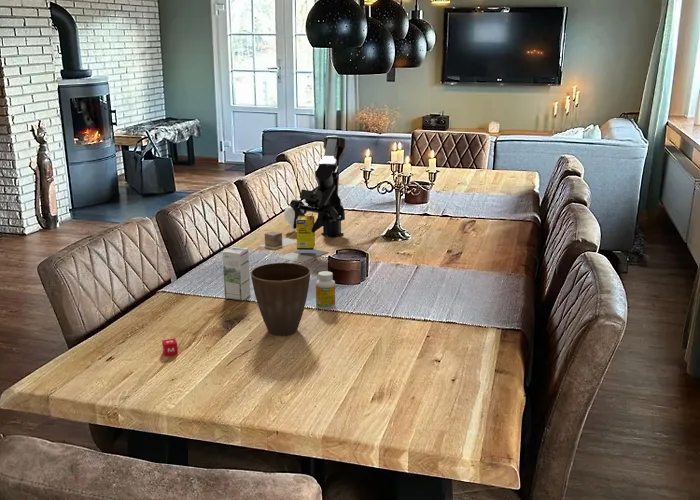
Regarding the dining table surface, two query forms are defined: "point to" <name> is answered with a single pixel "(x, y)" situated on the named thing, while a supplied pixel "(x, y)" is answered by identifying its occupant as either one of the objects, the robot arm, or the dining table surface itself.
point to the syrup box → (236, 273)
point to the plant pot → (281, 295)
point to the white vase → (289, 216)
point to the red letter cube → (170, 347)
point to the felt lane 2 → (303, 255)
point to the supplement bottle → (325, 290)
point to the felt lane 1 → (284, 243)
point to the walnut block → (273, 239)
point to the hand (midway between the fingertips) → (303, 230)
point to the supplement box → (305, 233)
